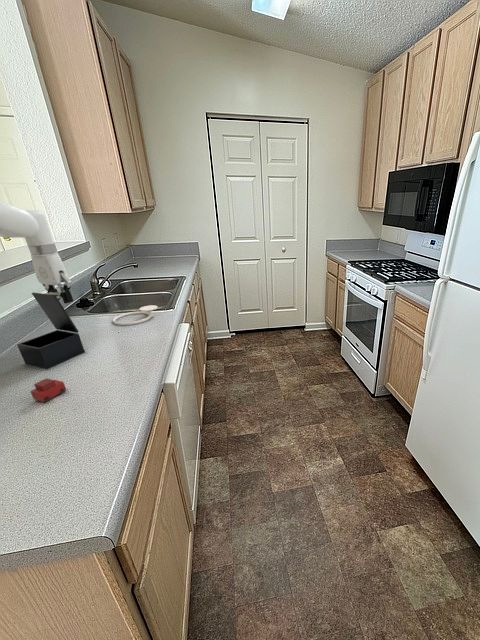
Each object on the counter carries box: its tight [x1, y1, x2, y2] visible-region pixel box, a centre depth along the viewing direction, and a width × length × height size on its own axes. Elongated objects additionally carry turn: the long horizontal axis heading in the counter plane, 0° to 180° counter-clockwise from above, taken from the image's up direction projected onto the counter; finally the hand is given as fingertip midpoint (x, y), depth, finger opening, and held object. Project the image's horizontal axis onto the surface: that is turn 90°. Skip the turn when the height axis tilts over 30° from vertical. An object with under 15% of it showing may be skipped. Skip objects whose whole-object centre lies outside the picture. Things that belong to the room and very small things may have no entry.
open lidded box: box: [16, 329, 86, 370], centre depth 119 cm, size 14×11×8 cm
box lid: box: [31, 291, 80, 334], centre depth 120 cm, size 15×11×5 cm
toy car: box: [30, 377, 67, 403], centre depth 97 cm, size 7×4×5 cm, turn 159°
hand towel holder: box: [112, 304, 158, 326], centre depth 158 cm, size 17×4×21 cm
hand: (62, 301), depth 120 cm, fingers closed on box lid, 6 cm apart
